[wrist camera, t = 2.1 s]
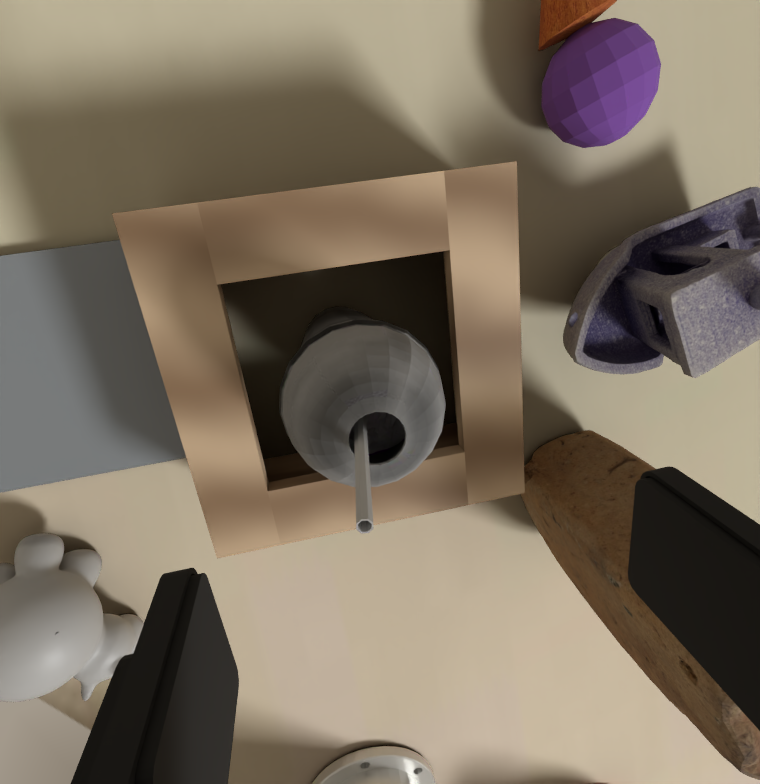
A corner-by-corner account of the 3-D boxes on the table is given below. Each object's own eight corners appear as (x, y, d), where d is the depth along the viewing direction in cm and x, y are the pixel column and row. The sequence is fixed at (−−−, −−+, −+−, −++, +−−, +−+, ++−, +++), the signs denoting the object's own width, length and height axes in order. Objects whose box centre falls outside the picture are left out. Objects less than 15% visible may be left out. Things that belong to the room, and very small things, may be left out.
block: (502, 452, 37) (714, 687, 18) (590, 411, 37) (890, 604, 18) (538, 554, 41) (743, 832, 22) (618, 517, 41) (887, 762, 22)
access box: (476, 436, 36) (524, 493, 29) (233, 484, 34) (217, 558, 27) (460, 176, 30) (516, 161, 22) (160, 215, 28) (111, 213, 20)
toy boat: (711, 168, 32) (944, 149, 20) (734, 274, 35) (949, 315, 23) (505, 278, 33) (604, 324, 21) (543, 371, 36) (650, 458, 24)
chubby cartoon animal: (101, 621, 39) (90, 740, 33) (-48, 569, 31) (-101, 716, 24) (176, 577, 39) (179, 689, 32) (45, 513, 30) (16, 648, 24)
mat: (193, 452, 33) (192, 456, 32) (-28, 493, 31) (-34, 498, 31) (129, 238, 28) (126, 238, 27) (-137, 274, 26) (-147, 275, 26)
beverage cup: (409, 366, 33) (555, 551, 15) (312, 409, 33) (336, 650, 14) (369, 266, 31) (487, 337, 12) (263, 312, 30) (217, 456, 12)
